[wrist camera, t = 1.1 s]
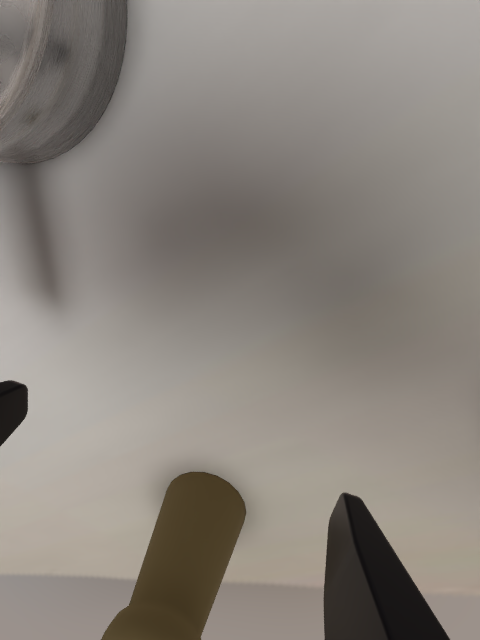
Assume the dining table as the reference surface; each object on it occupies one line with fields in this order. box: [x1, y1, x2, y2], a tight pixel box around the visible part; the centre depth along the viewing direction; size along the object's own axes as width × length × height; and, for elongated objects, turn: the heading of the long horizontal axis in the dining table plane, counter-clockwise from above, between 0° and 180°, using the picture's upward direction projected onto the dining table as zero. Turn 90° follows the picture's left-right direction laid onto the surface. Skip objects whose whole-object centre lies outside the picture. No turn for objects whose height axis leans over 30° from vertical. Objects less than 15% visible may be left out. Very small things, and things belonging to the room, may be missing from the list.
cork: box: [101, 472, 246, 640], centre depth 20 cm, size 6×6×11 cm
